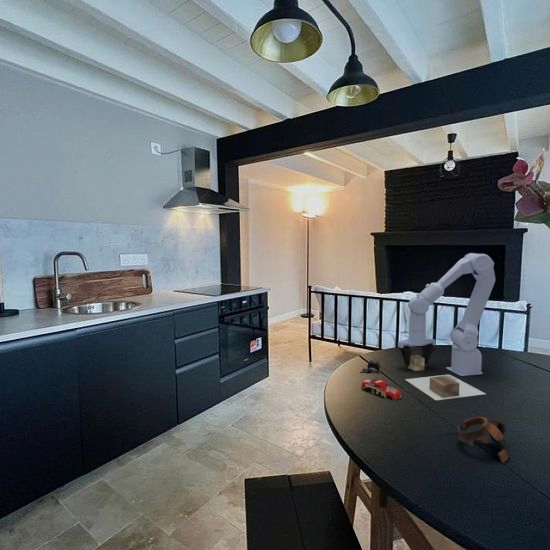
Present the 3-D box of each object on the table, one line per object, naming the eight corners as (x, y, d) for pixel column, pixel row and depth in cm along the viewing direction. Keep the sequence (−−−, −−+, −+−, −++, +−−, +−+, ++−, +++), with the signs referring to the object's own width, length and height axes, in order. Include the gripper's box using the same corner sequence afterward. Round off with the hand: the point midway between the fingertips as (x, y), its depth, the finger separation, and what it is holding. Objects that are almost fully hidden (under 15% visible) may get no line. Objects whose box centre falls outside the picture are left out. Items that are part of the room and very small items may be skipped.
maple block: (417, 367, 129) (417, 354, 128) (424, 371, 125) (424, 358, 124) (408, 368, 128) (408, 355, 128) (414, 372, 124) (415, 359, 124)
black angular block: (392, 373, 125) (393, 361, 124) (389, 380, 118) (390, 368, 118) (359, 368, 130) (359, 356, 130) (354, 374, 124) (354, 362, 123)
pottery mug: (501, 472, 71) (479, 435, 72) (463, 466, 79) (444, 433, 80) (527, 441, 77) (506, 407, 78) (489, 439, 85) (471, 408, 86)
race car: (405, 398, 104) (405, 386, 104) (395, 404, 100) (396, 391, 100) (368, 385, 114) (368, 374, 114) (359, 390, 110) (359, 378, 110)
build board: (449, 375, 120) (449, 374, 120) (486, 395, 105) (486, 393, 105) (404, 380, 117) (404, 379, 117) (435, 401, 101) (435, 399, 101)
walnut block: (445, 387, 110) (445, 375, 109) (459, 395, 104) (459, 383, 103) (429, 389, 108) (429, 377, 108) (442, 397, 103) (442, 385, 102)
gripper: (427, 325, 130) (426, 359, 132) (393, 327, 127) (392, 362, 129) (439, 330, 123) (438, 365, 125) (404, 332, 121) (403, 369, 122)
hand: (416, 364), depth 126 cm, fingers open, 7 cm apart
